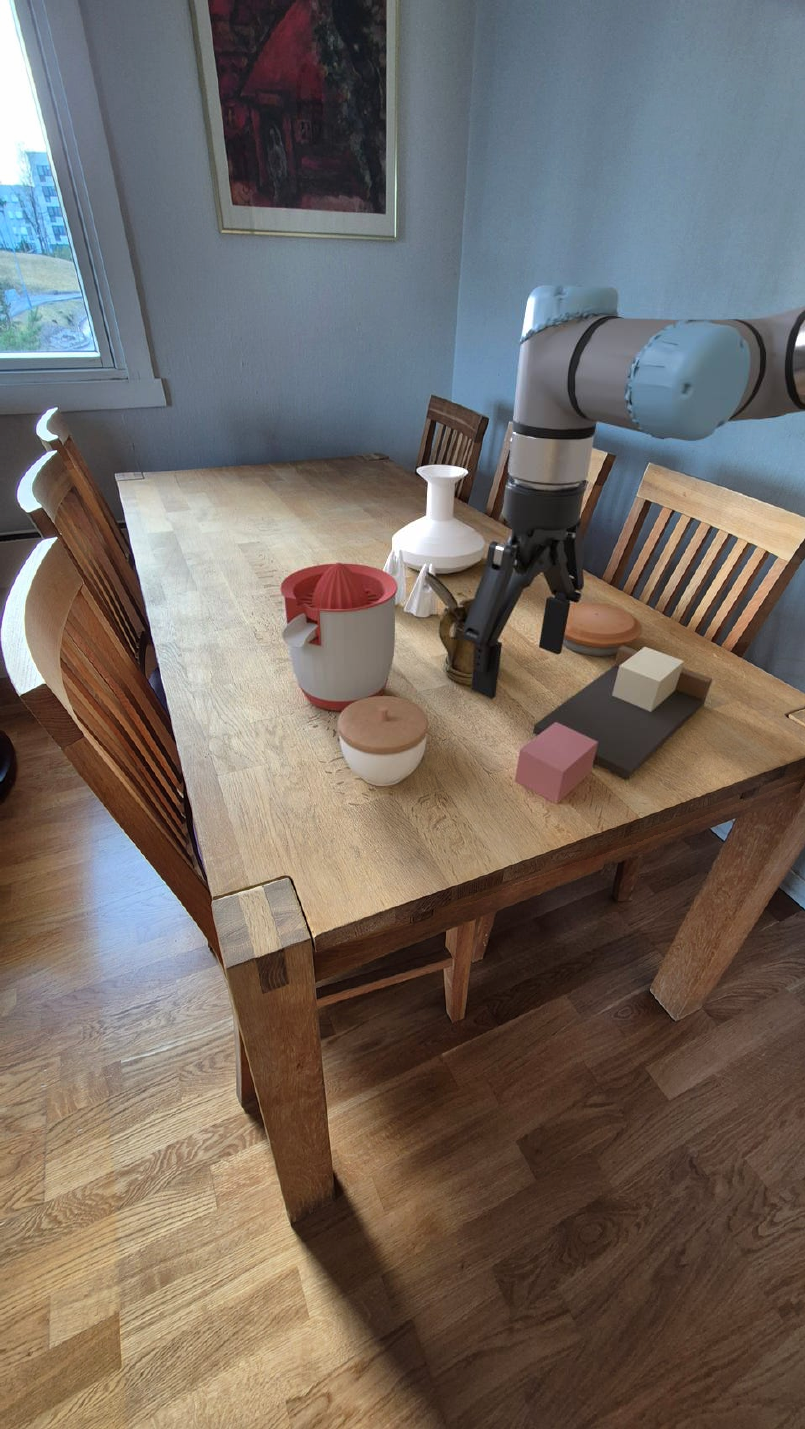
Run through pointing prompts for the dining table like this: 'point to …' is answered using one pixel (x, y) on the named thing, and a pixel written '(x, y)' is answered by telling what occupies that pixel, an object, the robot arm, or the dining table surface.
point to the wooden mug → (454, 634)
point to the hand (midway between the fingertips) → (518, 670)
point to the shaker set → (421, 594)
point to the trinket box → (382, 738)
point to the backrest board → (627, 718)
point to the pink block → (555, 762)
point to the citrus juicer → (340, 631)
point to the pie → (599, 628)
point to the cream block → (647, 678)
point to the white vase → (439, 528)
